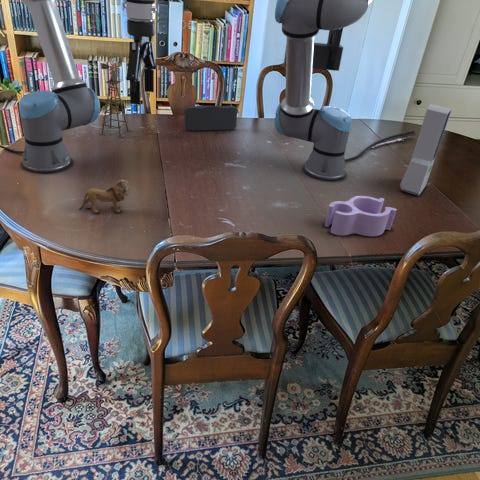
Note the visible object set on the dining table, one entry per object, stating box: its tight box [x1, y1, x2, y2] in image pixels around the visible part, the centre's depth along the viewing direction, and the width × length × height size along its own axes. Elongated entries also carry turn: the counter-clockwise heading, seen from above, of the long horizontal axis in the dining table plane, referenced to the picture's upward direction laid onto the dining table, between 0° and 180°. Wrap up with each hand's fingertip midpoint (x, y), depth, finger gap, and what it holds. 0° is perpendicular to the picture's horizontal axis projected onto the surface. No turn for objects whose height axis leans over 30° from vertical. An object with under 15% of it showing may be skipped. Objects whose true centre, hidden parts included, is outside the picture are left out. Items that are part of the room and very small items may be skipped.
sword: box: [371, 136, 412, 150], centre depth 209 cm, size 31×3×1 cm, turn 126°
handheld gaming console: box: [183, 105, 239, 132], centre depth 200 cm, size 23×3×10 cm, turn 108°
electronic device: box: [399, 103, 452, 197], centre depth 162 cm, size 12×8×30 cm, turn 148°
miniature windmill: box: [100, 54, 130, 138], centre depth 181 cm, size 9×8×30 cm
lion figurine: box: [78, 179, 131, 214], centre depth 135 cm, size 15×5×9 cm, turn 110°
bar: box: [283, 42, 344, 72], centre depth 187 cm, size 22×4×9 cm, turn 91°
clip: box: [324, 195, 398, 237], centre depth 141 cm, size 20×12×7 cm, turn 109°
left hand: (142, 97), depth 139 cm, fingers open, 13 cm apart
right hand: (328, 67), depth 190 cm, fingers closed on bar, 4 cm apart
